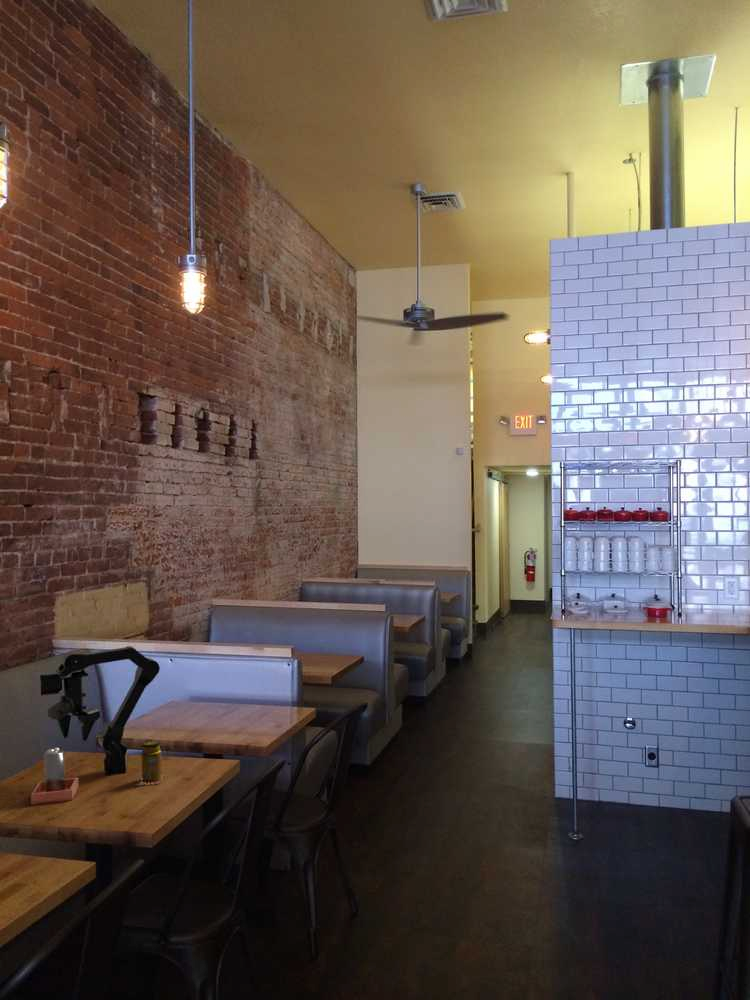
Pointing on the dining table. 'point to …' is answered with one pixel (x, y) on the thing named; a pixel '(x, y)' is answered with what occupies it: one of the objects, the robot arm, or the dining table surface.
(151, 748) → the condiment
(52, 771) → the pebble tin
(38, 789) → the dish
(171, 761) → the dining table surface
